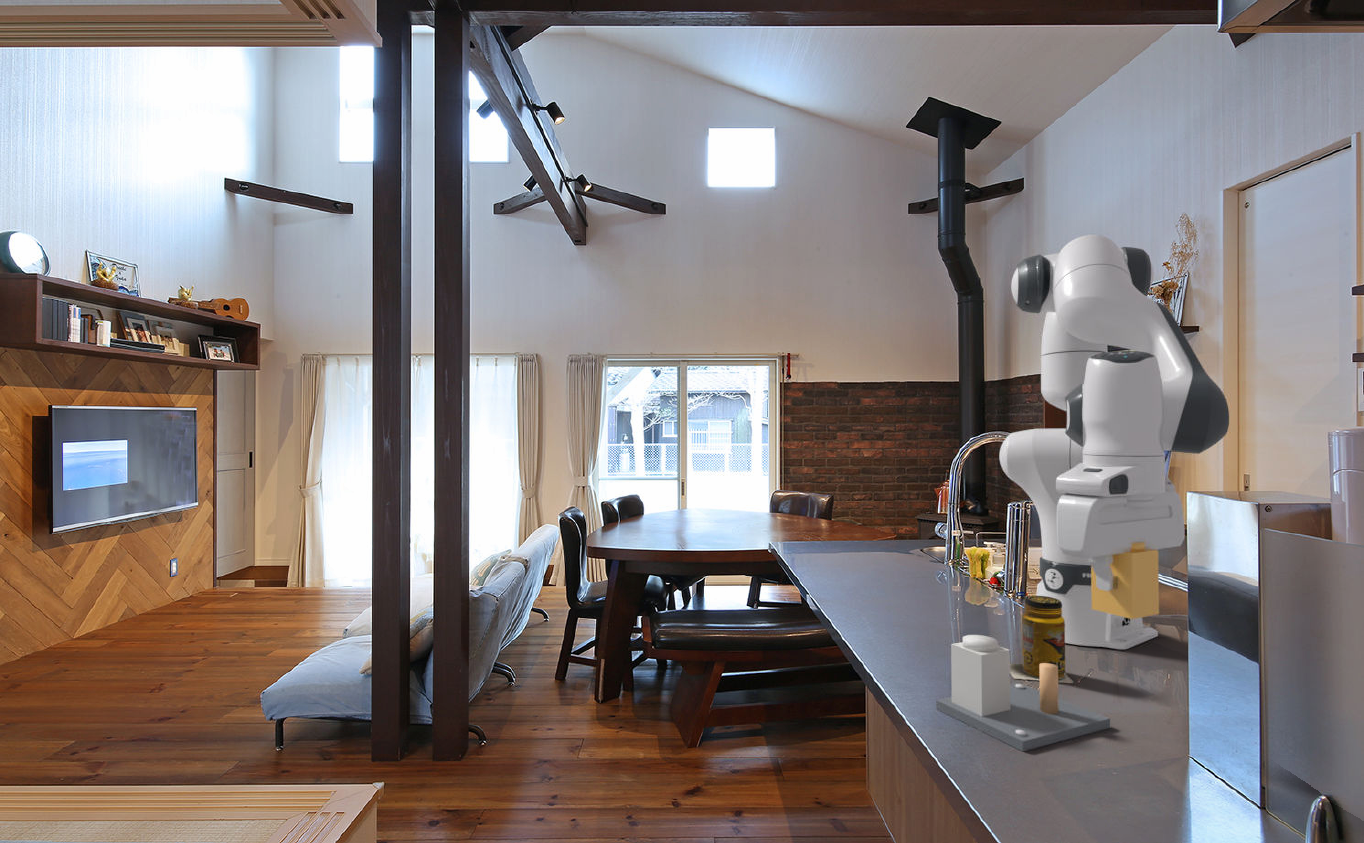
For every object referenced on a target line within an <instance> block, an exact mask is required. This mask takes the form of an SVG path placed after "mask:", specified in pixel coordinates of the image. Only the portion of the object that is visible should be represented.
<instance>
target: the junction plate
mask: <svg viewBox="0 0 1364 843" xmlns="http://www.w3.org/2000/svg"><path fill="white" fill-rule="evenodd" d="M950 647H951V648H950V652H951V653H950V654H951V655H950V656H951V658H950V659H951V660H950V661H951V664H950V665H951V668H950V670H951V677H950V678H951V679H950V680H951V696H950V697H945V698H940V699H936V701H935V702H936V704H935V705H936V708H935V709H936V710H938V711H940V712H942V713H944V714H946V715H949V716H950V717H952V718H955V719H957V721H960V722H962V723H965V724H967V725H968V726H970V727H972V728H975V729H977V730H978V731H981V732H983V733H984V734H986V735H988V736H991V737H992V738H994V739H996V740H998V741H1001V742H1003V743H1005V744H1007V745H1009V746H1011V747H1013V748H1015V749H1017V750H1019V751H1021V752H1026V751H1029V750H1033V749H1036V748H1040V747H1045V746H1048V745H1051V744H1056V743H1059V742H1063V741H1066V740H1070V739H1074V738H1077V737H1081V736H1085V735H1088V734H1092V733H1095V732H1099V731H1103V730H1106V729H1110V728H1111V718H1109V717H1107V716H1106V715H1102V714H1099V713H1097V712H1094V711H1093V710H1090V709H1087V708H1084V707H1082V706H1079V705H1077V704H1074V703H1073V702H1072V703H1071V702H1070V701H1069V702H1068V701H1066V700H1064V699H1061V698H1059V682H1058V666H1056V665H1054V664H1050V663H1040V664H1039V673H1040V680H1039V690H1038V689H1036V688H1033V687H1031V686H1028V685H1026V684H1023V683H1020V682H1016V683H1011V673H1010V663H1011V650H1010V649H1008V648H1005V647H1002V646H1000V645H999V642H998V639H996V638H995V637H991V636H987V635H980V634H967V635H964V636H962V642H960V641H959V642H957V643H956V642H955V643H951V644H950Z"/></svg>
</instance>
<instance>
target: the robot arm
mask: <svg viewBox="0 0 1364 843" xmlns="http://www.w3.org/2000/svg"><path fill="white" fill-rule="evenodd" d="M1153 281H1154V268H1153V264H1152V262H1151V258H1150V255H1149V254H1148V253H1147V252H1146V251H1145V249H1143V248H1138V247H1133V246H1132V247H1130V246H1122V247H1121V248H1119V246H1118V245H1117V244H1116V243H1115V242H1114V241H1113V240H1112V239H1110V238H1108V237H1106V236H1104V235H1099V234H1086V235H1081V236H1078V237H1076V238H1074V239H1072V240H1070V241H1069V242H1068V243H1067V244H1065V245H1064V246H1063V247H1062V249H1061V250H1060V251H1059V252H1056V253H1051V254H1045V255H1042V254H1037V255H1032V256H1029V257H1026V258H1024V259H1022V260H1021V261H1020V262H1019V263H1018V264H1017V266H1016V269H1015V270H1014V272H1013V275H1012V279H1011V283H1010V286H1011V287H1010V288H1011V294H1012V298H1013V300H1014V301H1015V304H1016V307H1018V309H1019V310H1021V311H1022V312H1024V313H1031V314H1040V312H1042V313H1046V314H1045V318H1044V323H1043V328H1042V329H1043V330H1042V337H1041V346H1040V347H1041V348H1040V349H1041V350H1040V392H1041V395H1042V397H1043V398H1044V400H1045V401H1046V402H1047V403H1048V404H1050V405H1052V406H1054V407H1055V408H1057V409H1059V410H1062V411H1064V412H1066V426H1065V428H1033V429H1030V428H1029V429H1025V430H1020V431H1015V432H1014V431H1013V432H1011V433H1009V435H1007V437H1006V438H1005V439H1004V440H1003V442H1002V444H1001V446H1000V448H999V455H998V456H999V457H998V458H999V464H1000V466H1001V469H1002V471H1003V472H1004V474H1005V475H1006V476H1007V478H1009V479H1010V480H1011V481H1012V482H1014V483H1015V484H1017V485H1018V486H1019V487H1021V489H1022V490H1023V491H1024V492H1025V493H1026V494H1027V496H1028V497H1029V499H1030V500H1031V501H1032V503H1033V505H1034V507H1035V508H1036V512H1037V515H1038V518H1039V524H1040V525H1039V526H1040V527H1039V528H1040V537H1041V557H1040V558H1039V563H1038V568H1039V576H1040V578H1041V580H1040V582H1038V583H1037V586H1036V587H1037V588H1036V594H1035V596H1047V597H1052V598H1056V599H1059V600H1060V601H1061V603H1062V615H1061V616H1062V617H1063V618H1064V620H1065V644H1070V645H1077V646H1085V647H1097V648H1099V647H1102V648H1109V649H1115V650H1128V649H1130V648H1132V647H1133V648H1134V647H1135V646H1138V645H1140V644H1142V643H1145V642H1148V641H1149V640H1152V639H1154V638H1156V637H1158V636H1159V632H1158V630H1157V629H1155V628H1152V627H1151V626H1148V625H1145V624H1143V617H1141V618H1136V619H1130V618H1126V617H1122V616H1118V615H1114V614H1110V613H1106V612H1102V611H1098V610H1093V609H1092V593H1091V566H1092V568H1093V570H1094V572H1095V574H1096V586H1097V588H1098V589H1101V590H1105V591H1111V590H1115V589H1117V588H1118V585H1117V582H1118V576H1114V575H1113V573H1112V570H1111V567H1110V564H1111V563H1113V555H1115V554H1123V553H1124V552H1129V551H1130V550H1131V548H1132V544H1131V543H1139V542H1145V549H1154V550H1161V549H1169V548H1177V547H1181V546H1182V544H1183V542H1184V540H1185V533H1186V531H1185V530H1186V529H1185V519H1184V509H1183V504H1182V499H1181V497H1180V495H1179V493H1178V492H1177V491H1176V486H1175V483H1173V482H1172V481H1171V480H1170V478H1169V477H1168V476H1166V453H1165V451H1169V452H1172V453H1173V452H1174V453H1183V454H1184V453H1185V454H1194V455H1195V454H1197V455H1198V454H1199V455H1200V454H1202V453H1203V452H1205V451H1206V450H1208V449H1210V448H1211V447H1213V446H1214V445H1216V444H1217V443H1218V442H1220V441H1221V440H1222V439H1223V438H1224V437H1225V436H1226V435H1227V433H1228V430H1229V427H1230V426H1229V425H1230V409H1229V405H1228V402H1227V399H1226V396H1225V394H1224V392H1223V391H1222V390H1221V388H1220V387H1219V386H1218V384H1217V383H1216V382H1215V381H1214V380H1213V379H1212V378H1211V377H1210V376H1209V374H1208V373H1207V372H1206V370H1205V368H1204V366H1203V365H1202V363H1201V362H1200V360H1199V358H1198V356H1197V355H1196V353H1195V351H1194V349H1193V348H1192V346H1191V344H1190V342H1189V340H1188V339H1187V338H1186V335H1185V334H1184V332H1183V330H1182V329H1181V326H1180V325H1179V324H1178V322H1177V320H1176V319H1175V317H1174V315H1173V313H1171V312H1170V310H1169V308H1168V307H1167V306H1166V305H1164V304H1162V303H1159V302H1157V301H1155V300H1153V299H1151V298H1149V297H1148V295H1149V292H1150V290H1151V287H1152V285H1153ZM1108 346H1110V347H1111V346H1112V347H1117V348H1121V349H1127V350H1128V351H1127V350H1124V351H1123V350H1122V351H1121V350H1120V351H1108Z"/></svg>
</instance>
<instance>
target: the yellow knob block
mask: <svg viewBox="0 0 1364 843" xmlns="http://www.w3.org/2000/svg"><path fill="white" fill-rule="evenodd" d="M1131 544H1132V548H1131V550H1130V551H1129V552H1124V553H1123V554H1115V555H1113V563H1111V564H1110V567H1111V570H1112V573H1113V575H1114V576H1118V582H1117V585H1118V588H1117V589H1115V590H1111V591H1105V590H1101V589H1098V588H1097V586H1096V574H1095V572H1094V570H1093V568H1092V566H1091V593H1092V609H1093V610H1098V611H1102V612H1106V613H1110V614H1114V615H1118V616H1122V617H1126V618H1130V619H1136V618H1141V617H1142V618H1146V617H1152V616H1158V615H1159V614H1160V592H1159V589H1160V586H1159V580H1160V579H1159V549H1157V550H1154V549H1145V542H1139V543H1131Z"/></svg>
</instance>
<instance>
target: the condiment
mask: <svg viewBox="0 0 1364 843" xmlns="http://www.w3.org/2000/svg"><path fill="white" fill-rule="evenodd" d="M1023 609H1024V612H1023V614H1022V616H1021V622H1022V623H1021V624H1022V625H1021V629H1022V632H1021V633H1022V636H1021V637H1022V638H1021V639H1022V642H1021V644H1022V649H1021V650H1022V663H1014V662H1010V676H1012V678H1014V679H1015V680H1031V681H1040V673H1039V664H1040V663H1050V664H1054V665H1056V666H1058V684H1060V683H1061V684H1063V683H1064V684H1065V683H1066V684H1074V683H1075V682H1074V681H1073V680H1072V678H1070V677H1069V676H1068V675H1067V673H1066V643H1065V620H1064V618H1063V617H1062V616H1061V615H1062V603H1061V601H1060V600H1059V599H1056V598H1052V597H1047V596H1036V595H1029V596H1027V597H1025V598H1024V608H1023Z"/></svg>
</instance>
